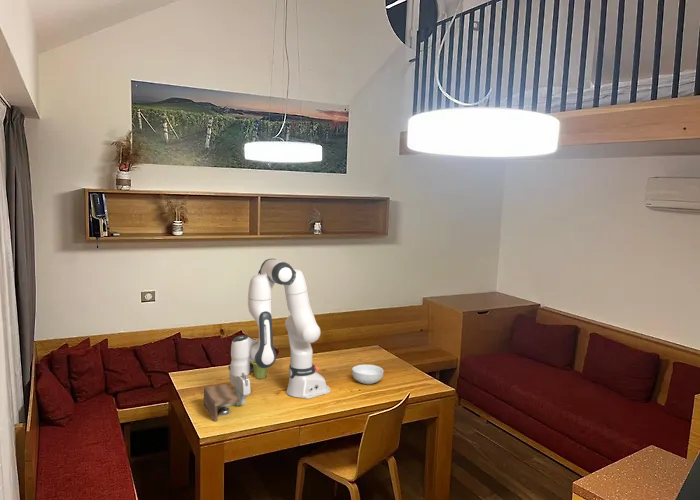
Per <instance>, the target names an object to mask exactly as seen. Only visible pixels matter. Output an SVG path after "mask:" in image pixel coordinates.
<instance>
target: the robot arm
mask: <svg viewBox="0 0 700 500" xmlns="http://www.w3.org/2000/svg"><path fill="white" fill-rule="evenodd" d="M275 284H276V285H282V286H283V288H284V293H285V294H284V295H285V299H286V305H287V309H288V311H289V314H290V315H288V317H286V319H285V323H284V325H285V328H286V331H287V336H288V342H289V349H290V357H289V359H290V360H289V361H290V362H289V366H288V367H289V368H288V375H289V379H288V385H287V388H286V391H285V393H286V394H287V395H289V396H290V397H295V398H300V399H301V398H303V399H308V400H309V399H314V398H315V397H319V396H323V395H326V394H330V393H331V388H330V386H329V385H327V382H326V379H325V377H324V376H323V375H321V374H320V373H319V370H320V367H319V366H318V365H315V364H313V356H314V354H313V351H314V350H313V347H312V343H315V342H316V341H318V339H319V338H320V336H321V327H320V326H319V324H318V323H317V321H316V317H315V314H314V312H313V309H312V306H311V303H310V302H311V301H310V297H309V290H308V285H307V281H306V278H305V275H304V273H303V271H302V270H301V269H300V268H299V269H298V268H293V267H292V266H291V265H290V263H288V262H285V261H284V260H280V259H276V258H267V259H265V260H264V261H263V262H262V263H261V265H260V268H259V270H258V273H257V274H256V275H253V276H252V277H251V279H250V281H249V285H248V294H247V306H248V312H249V314H250V316H252V317H253V319H254V320H255V323H256V324H257V329H258V339H253V338H251V337H249V336H248V335H246V334H245V335H241V334H240V335H238V336H235V337H234V338H233V339H232V341H231V347H230V356H231V357H230V358H231V361H230V364H228V366H227V367H228V373H229V382H230V383H231V384H232V386H233V389H234V388H236V389H237V390H238V391H239V392H240V393H241V395H242V397H241V402H245V403H246V398H247V396H250V395H251V380H250V378H249V377H248V376H249V374H250V373H251V372H250V362H251V361H254V362H255V363H256V364H257V365H258V366H259V367H261V368H267V369H268V368H270V367H272V366H273V365H274V363H275V362H276V360H277V351H276V350H275V348H274V347H275V346H274V336H273V334H274V333H273V320H272V297H273V296H272V292H273V291H272V290H273V288H274V286H275Z"/></svg>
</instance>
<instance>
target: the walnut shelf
mask: <svg viewBox="0 0 700 500" xmlns="http://www.w3.org/2000/svg"><path fill="white" fill-rule="evenodd" d="M237 402H240V398H239V397H238V396H237V394H236V393H235V392H234V389H233V388H232V387H231V386H229V384H227V383H225V384H220V385H211V386H206V387H203V407H204V409H205V410H206V411H207V413H208V415H210V417H211V418H212V421H214V422H218V408H217V407H218V406H220V405H226V404H232V403H237Z"/></svg>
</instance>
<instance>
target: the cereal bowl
mask: <svg viewBox="0 0 700 500" xmlns="http://www.w3.org/2000/svg"><path fill="white" fill-rule="evenodd" d="M351 373H352V378H353V379H355V380H356V381H357V382H359V383H361V384H363V385H372V384H374V383H378V382H380V381H381V380H382V378H383V377H384V369H383V368H382V367H381V366H379V365H374V364H358V365H355V366H353V367H352V368H351Z"/></svg>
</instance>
